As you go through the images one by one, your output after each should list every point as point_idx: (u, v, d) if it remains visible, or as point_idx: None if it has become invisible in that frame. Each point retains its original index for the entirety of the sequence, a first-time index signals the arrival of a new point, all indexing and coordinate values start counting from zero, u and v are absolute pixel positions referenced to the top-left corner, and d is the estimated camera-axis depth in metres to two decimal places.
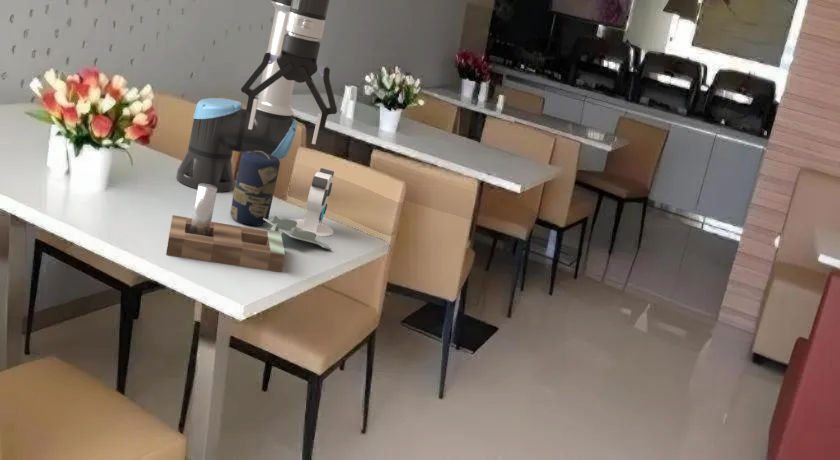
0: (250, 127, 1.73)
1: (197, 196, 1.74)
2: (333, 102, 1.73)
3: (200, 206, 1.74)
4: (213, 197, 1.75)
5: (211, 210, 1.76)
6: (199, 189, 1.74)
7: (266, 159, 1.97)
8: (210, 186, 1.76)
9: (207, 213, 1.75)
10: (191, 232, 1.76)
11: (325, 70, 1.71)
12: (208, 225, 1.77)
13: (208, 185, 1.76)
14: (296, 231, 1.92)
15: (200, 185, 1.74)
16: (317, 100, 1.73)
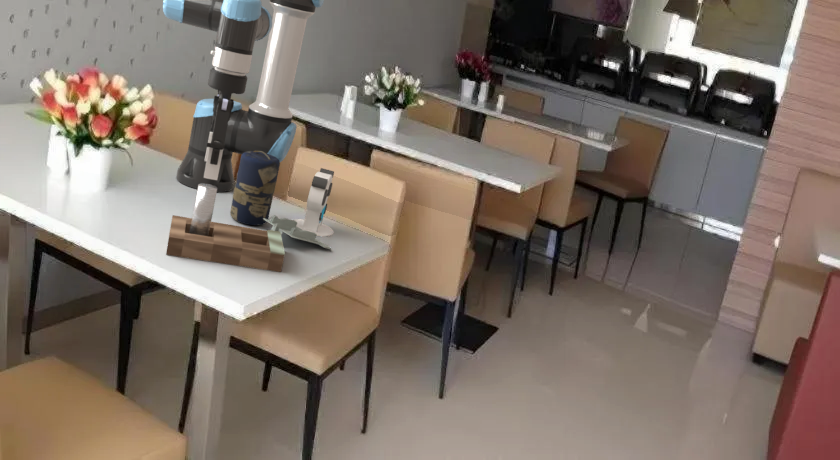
0: (204, 159, 1.79)
1: (197, 196, 1.74)
2: (213, 134, 1.62)
3: (200, 206, 1.74)
4: (213, 197, 1.75)
5: (211, 210, 1.76)
6: (199, 189, 1.74)
7: (266, 159, 1.97)
8: (210, 186, 1.76)
9: (207, 213, 1.75)
10: (191, 232, 1.76)
11: None
12: (208, 225, 1.77)
13: (208, 185, 1.76)
14: (296, 231, 1.92)
15: (200, 185, 1.74)
16: None
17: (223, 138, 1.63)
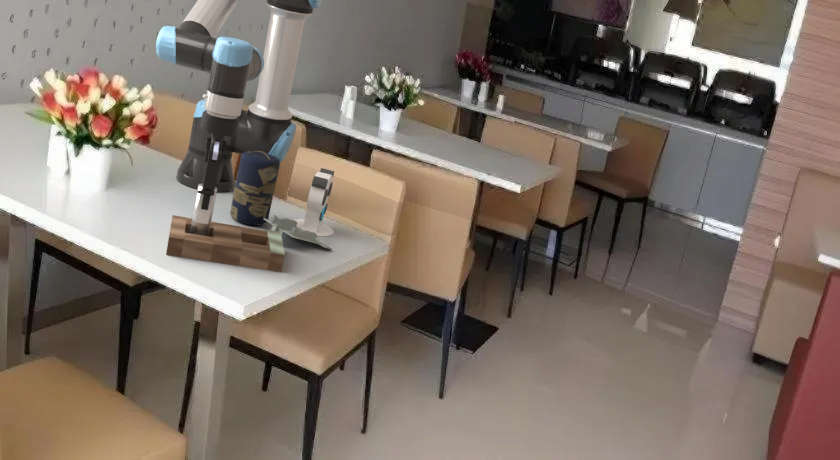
0: None
1: (197, 196, 1.74)
2: (203, 182, 1.69)
3: None
4: (213, 197, 1.75)
5: (211, 210, 1.76)
6: (199, 189, 1.74)
7: (266, 159, 1.97)
8: None
9: None
10: (191, 232, 1.76)
11: None
12: (208, 225, 1.77)
13: None
14: (297, 231, 1.92)
15: (200, 185, 1.74)
16: (204, 177, 1.72)
17: (213, 187, 1.70)
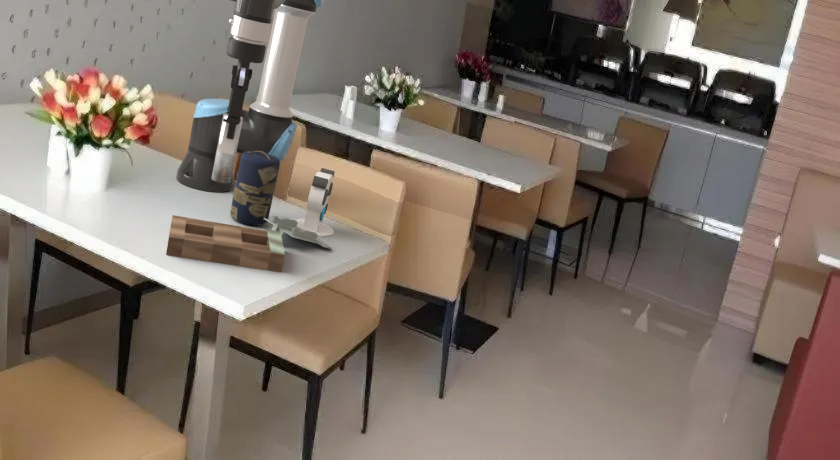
0: None
1: (222, 126, 1.71)
2: (229, 109, 1.65)
3: None
4: None
5: (236, 141, 1.72)
6: (224, 118, 1.70)
7: (266, 159, 1.98)
8: None
9: None
10: (216, 163, 1.73)
11: None
12: (233, 156, 1.73)
13: None
14: (297, 231, 1.93)
15: (225, 114, 1.71)
16: None
17: (239, 114, 1.66)
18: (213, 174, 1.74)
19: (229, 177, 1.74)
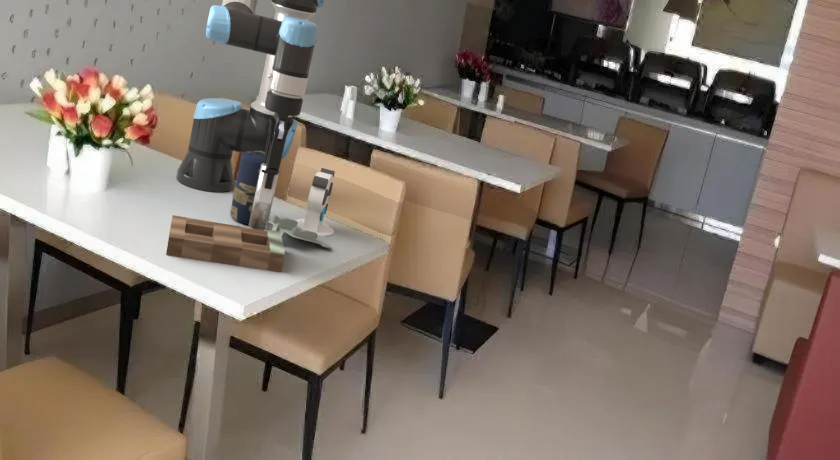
0: None
1: (260, 175, 1.76)
2: (268, 161, 1.71)
3: None
4: (276, 176, 1.76)
5: None
6: (262, 168, 1.75)
7: None
8: None
9: None
10: (253, 211, 1.78)
11: None
12: (270, 204, 1.78)
13: None
14: (297, 231, 1.93)
15: (263, 165, 1.76)
16: (268, 156, 1.73)
17: (278, 166, 1.71)
18: (251, 222, 1.79)
19: (266, 224, 1.79)
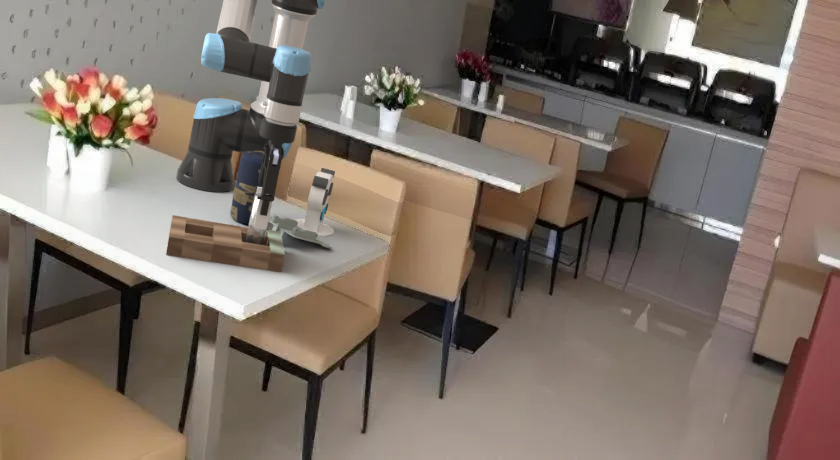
0: None
1: (254, 206, 1.78)
2: (263, 188, 1.71)
3: None
4: None
5: None
6: (256, 199, 1.77)
7: None
8: None
9: None
10: (247, 241, 1.80)
11: None
12: (264, 234, 1.80)
13: None
14: (298, 231, 1.93)
15: (256, 195, 1.78)
16: (263, 183, 1.74)
17: (273, 192, 1.71)
18: None
19: None
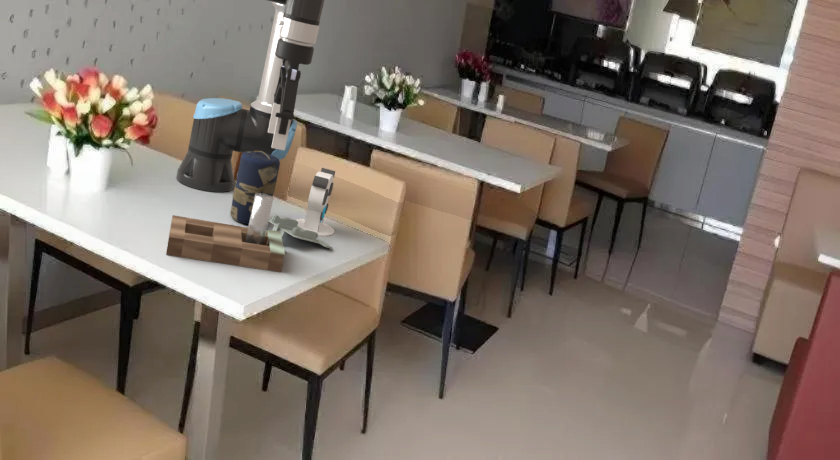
0: (268, 130, 1.81)
1: (254, 206, 1.78)
2: (282, 103, 1.64)
3: (256, 216, 1.78)
4: (269, 206, 1.78)
5: (267, 219, 1.79)
6: (256, 199, 1.77)
7: (266, 159, 1.97)
8: (266, 196, 1.79)
9: (263, 223, 1.79)
10: (247, 241, 1.80)
11: None
12: (264, 234, 1.80)
13: (264, 195, 1.80)
14: (298, 231, 1.93)
15: (257, 195, 1.78)
16: (281, 102, 1.67)
17: (292, 108, 1.64)
18: None
19: None
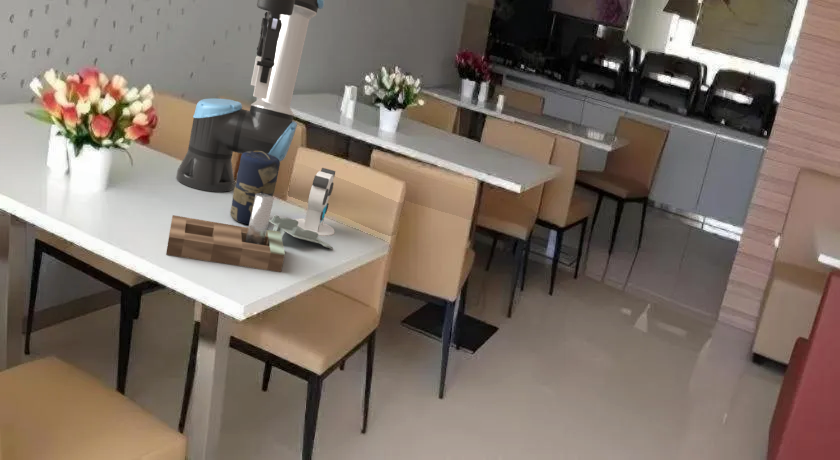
0: (251, 83, 1.84)
1: (254, 206, 1.78)
2: (263, 52, 1.67)
3: (257, 216, 1.78)
4: (270, 207, 1.78)
5: (267, 219, 1.79)
6: (256, 199, 1.77)
7: (266, 159, 1.98)
8: (267, 196, 1.79)
9: (263, 223, 1.79)
10: (247, 241, 1.80)
11: None
12: (264, 234, 1.80)
13: (265, 195, 1.80)
14: (298, 231, 1.93)
15: (257, 195, 1.78)
16: (262, 51, 1.70)
17: (273, 56, 1.68)
18: None
19: None
